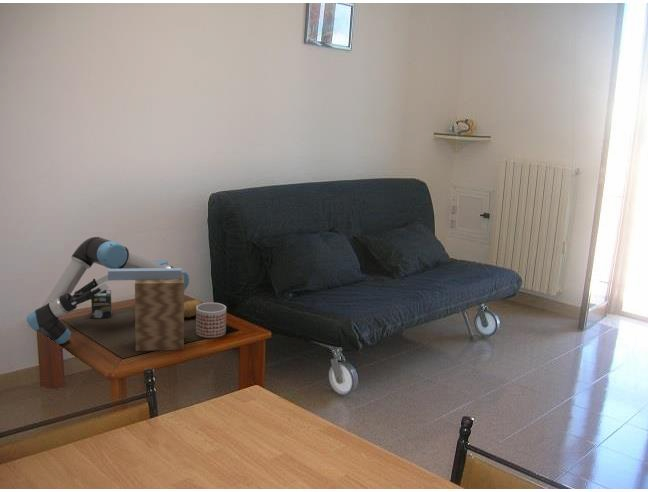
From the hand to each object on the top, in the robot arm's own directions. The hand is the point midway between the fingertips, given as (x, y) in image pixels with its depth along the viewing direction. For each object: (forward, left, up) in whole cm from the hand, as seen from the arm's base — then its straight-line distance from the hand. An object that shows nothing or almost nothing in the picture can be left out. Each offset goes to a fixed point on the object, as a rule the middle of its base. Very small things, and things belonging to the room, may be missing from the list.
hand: (109, 280), depth 273 cm
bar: (-10, +10, 0) cm, 15 cm away
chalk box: (-23, -33, -30) cm, 50 cm away
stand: (-15, +15, -30) cm, 36 cm away
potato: (-49, 0, -30) cm, 57 cm away
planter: (-39, +23, -30) cm, 54 cm away
